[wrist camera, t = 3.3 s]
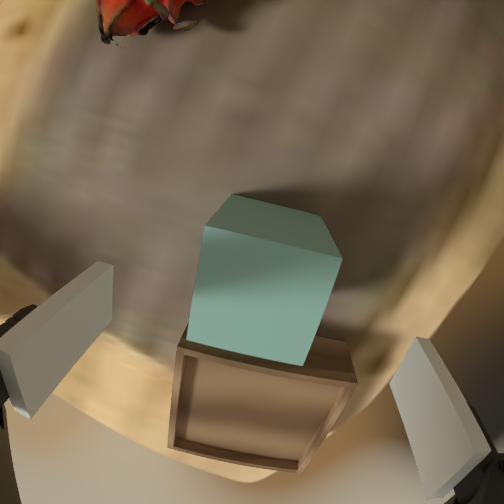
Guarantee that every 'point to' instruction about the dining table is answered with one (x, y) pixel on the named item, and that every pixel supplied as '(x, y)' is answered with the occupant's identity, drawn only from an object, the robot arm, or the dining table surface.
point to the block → (262, 280)
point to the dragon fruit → (139, 16)
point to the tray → (257, 403)
